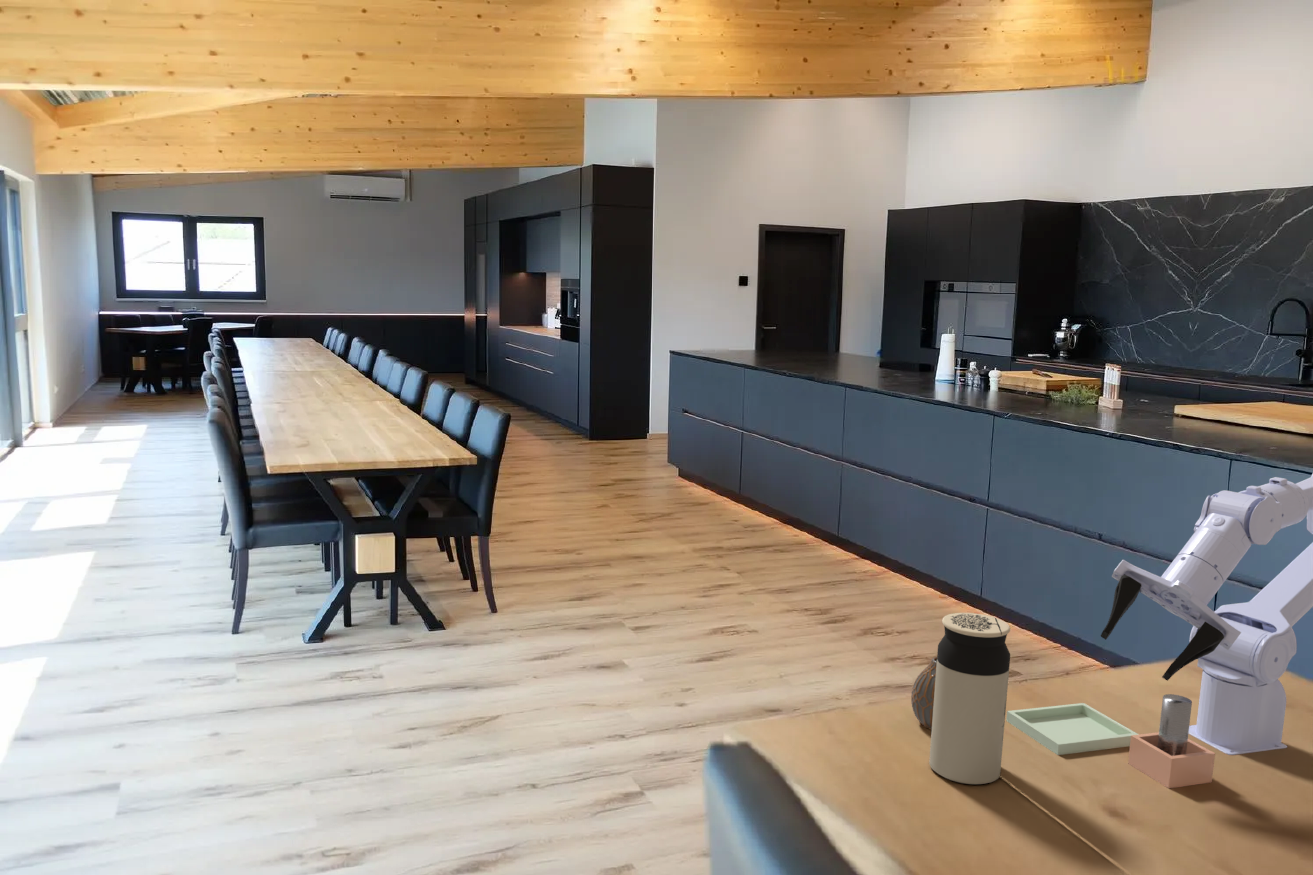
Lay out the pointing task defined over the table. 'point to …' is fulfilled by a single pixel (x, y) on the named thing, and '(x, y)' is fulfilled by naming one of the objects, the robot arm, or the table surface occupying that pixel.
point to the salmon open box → (1171, 762)
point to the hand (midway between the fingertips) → (1134, 655)
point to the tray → (1071, 728)
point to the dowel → (1174, 724)
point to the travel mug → (970, 698)
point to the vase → (924, 694)
